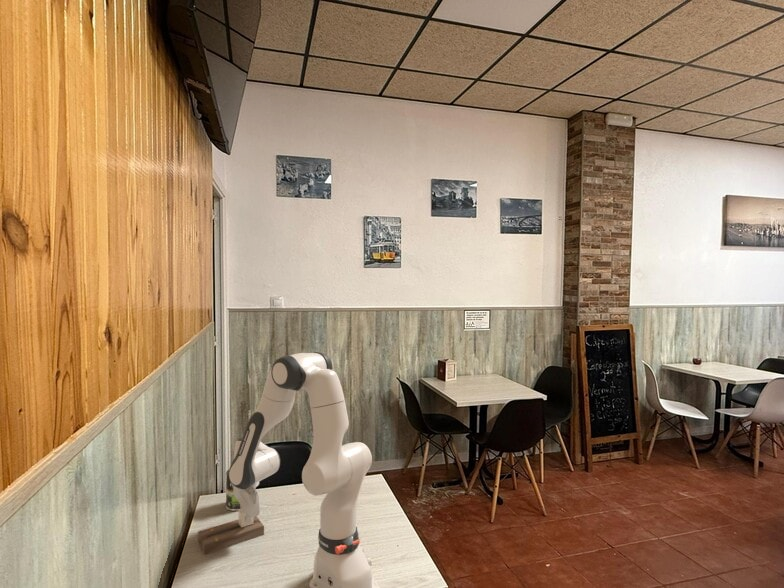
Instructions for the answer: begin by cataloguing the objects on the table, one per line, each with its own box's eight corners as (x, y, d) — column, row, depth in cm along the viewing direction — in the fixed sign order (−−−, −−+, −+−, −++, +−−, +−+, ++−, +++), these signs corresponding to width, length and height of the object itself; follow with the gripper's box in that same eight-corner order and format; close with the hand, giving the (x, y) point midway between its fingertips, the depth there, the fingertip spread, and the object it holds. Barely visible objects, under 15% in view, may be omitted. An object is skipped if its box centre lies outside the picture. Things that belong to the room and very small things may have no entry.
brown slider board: (263, 534, 149) (264, 525, 149) (204, 554, 137) (204, 544, 137) (255, 522, 157) (255, 513, 157) (198, 540, 145) (198, 531, 146)
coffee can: (251, 509, 167) (252, 474, 167) (224, 512, 164) (224, 477, 164) (253, 497, 177) (253, 464, 177) (227, 500, 174) (227, 466, 174)
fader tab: (253, 523, 150) (253, 508, 150) (241, 527, 148) (241, 512, 148) (250, 519, 153) (250, 504, 153) (238, 523, 151) (238, 508, 151)
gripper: (264, 488, 144) (264, 528, 144) (246, 468, 161) (246, 504, 160) (246, 493, 140) (245, 534, 140) (230, 472, 157) (229, 509, 157)
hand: (246, 518), depth 150 cm, fingers closed on fader tab, 3 cm apart
